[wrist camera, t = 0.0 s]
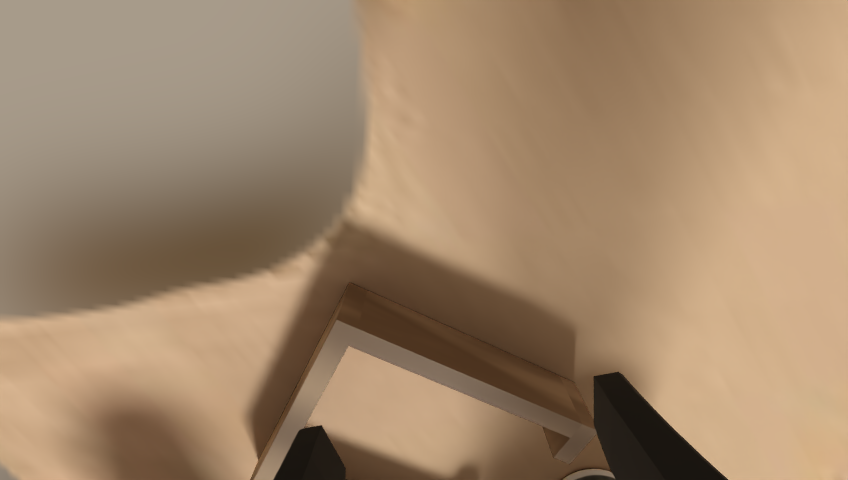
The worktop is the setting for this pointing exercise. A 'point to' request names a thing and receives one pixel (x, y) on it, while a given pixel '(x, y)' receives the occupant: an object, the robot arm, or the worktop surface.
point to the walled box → (432, 374)
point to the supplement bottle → (591, 475)
